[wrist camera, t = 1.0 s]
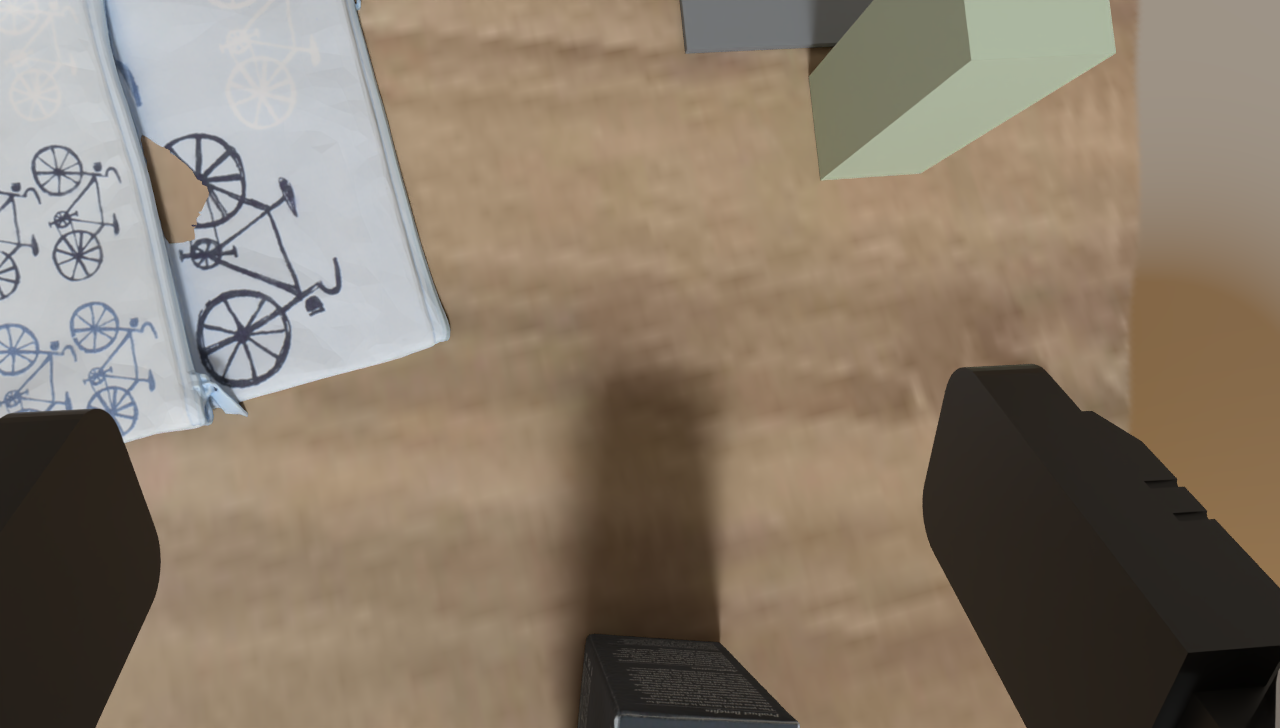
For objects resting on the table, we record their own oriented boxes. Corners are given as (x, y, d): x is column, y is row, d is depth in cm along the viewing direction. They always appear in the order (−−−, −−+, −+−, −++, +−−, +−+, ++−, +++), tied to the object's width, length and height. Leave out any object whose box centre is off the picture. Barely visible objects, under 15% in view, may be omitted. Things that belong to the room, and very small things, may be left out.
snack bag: (-184, 15, 34) (-230, -12, 32) (353, -82, 37) (343, -113, 35) (-62, 505, 34) (-101, 511, 32) (472, 367, 37) (469, 363, 35)
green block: (808, 76, 39) (952, -94, 26) (908, 71, 40) (1096, -97, 27) (820, 180, 39) (971, 60, 26) (920, 173, 39) (1115, 52, 27)
